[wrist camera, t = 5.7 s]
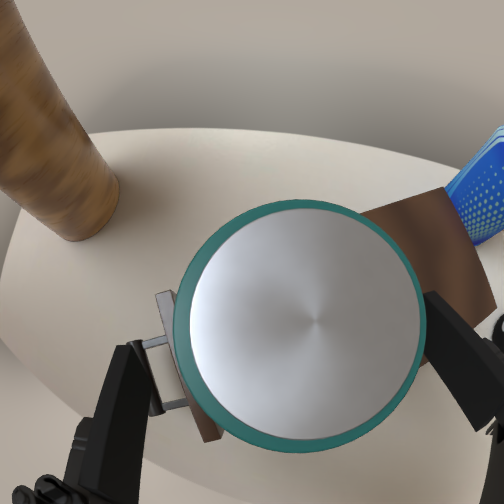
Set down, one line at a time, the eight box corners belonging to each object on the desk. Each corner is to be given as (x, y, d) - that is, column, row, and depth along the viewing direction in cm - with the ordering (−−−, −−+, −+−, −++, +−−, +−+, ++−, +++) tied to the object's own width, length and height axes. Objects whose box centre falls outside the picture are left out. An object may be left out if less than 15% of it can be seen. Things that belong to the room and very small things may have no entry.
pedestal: (54, 252, 27) (-119, 105, 1) (54, 186, 30) (-62, 38, 4) (124, 224, 28) (-36, -4, 2) (116, 157, 31) (21, -34, 5)
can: (245, 390, 21) (223, 492, 4) (219, 317, 23) (139, 236, 6) (319, 363, 22) (461, 380, 5) (292, 292, 24) (370, 166, 7)
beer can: (425, 219, 28) (509, 135, 13) (444, 178, 30) (508, 100, 15) (471, 263, 26) (564, 205, 11) (485, 218, 28) (558, 156, 13)
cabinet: (337, 382, 23) (373, 394, 15) (293, 265, 27) (309, 229, 19) (446, 321, 24) (497, 307, 16) (404, 224, 28) (443, 186, 20)
